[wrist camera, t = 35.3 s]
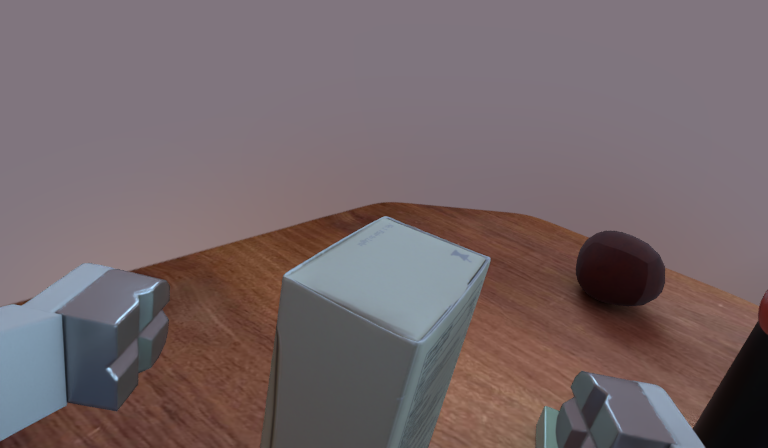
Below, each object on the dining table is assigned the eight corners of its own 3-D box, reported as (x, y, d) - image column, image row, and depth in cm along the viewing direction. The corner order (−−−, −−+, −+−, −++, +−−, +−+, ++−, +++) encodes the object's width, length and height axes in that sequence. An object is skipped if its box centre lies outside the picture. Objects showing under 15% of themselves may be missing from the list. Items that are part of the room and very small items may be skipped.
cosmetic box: (334, 444, 22) (384, 211, 18) (417, 495, 21) (496, 254, 16) (239, 558, 17) (273, 268, 12) (340, 639, 16) (424, 342, 11)
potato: (661, 304, 44) (690, 247, 41) (633, 333, 38) (665, 268, 35) (585, 268, 48) (607, 214, 46) (550, 288, 42) (573, 228, 40)
